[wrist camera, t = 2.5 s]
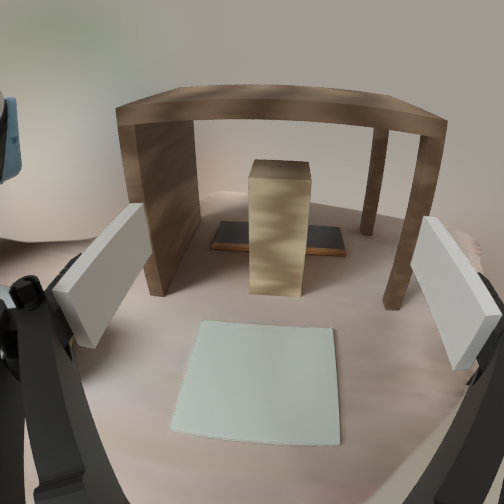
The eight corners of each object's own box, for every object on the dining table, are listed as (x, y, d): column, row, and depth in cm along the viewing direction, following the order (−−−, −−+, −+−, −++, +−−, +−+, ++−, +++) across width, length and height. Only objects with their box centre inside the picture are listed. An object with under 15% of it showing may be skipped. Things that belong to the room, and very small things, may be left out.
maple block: (249, 293, 32) (248, 177, 25) (254, 264, 36) (254, 159, 29) (300, 296, 31) (311, 180, 25) (300, 266, 35) (308, 161, 29)
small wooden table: (150, 295, 31) (115, 108, 21) (190, 220, 45) (179, 87, 34) (399, 310, 29) (447, 120, 19) (369, 229, 42) (388, 95, 32)
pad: (170, 431, 19) (169, 429, 19) (202, 322, 28) (201, 319, 28) (338, 445, 18) (340, 443, 18) (331, 331, 27) (332, 328, 27)
